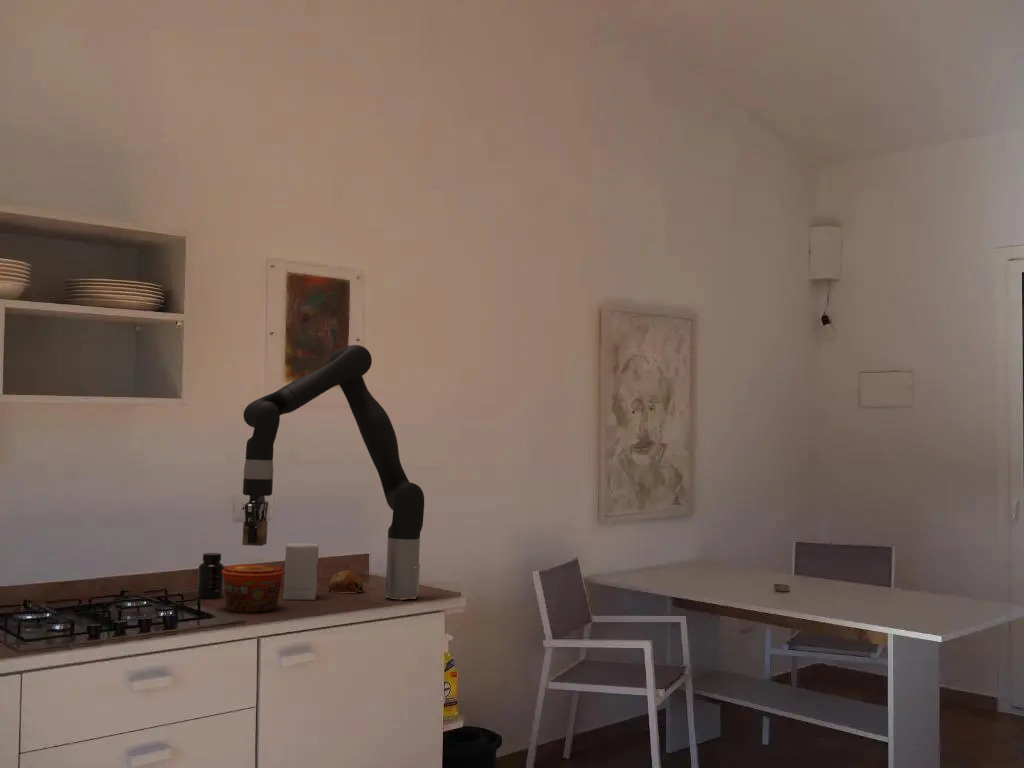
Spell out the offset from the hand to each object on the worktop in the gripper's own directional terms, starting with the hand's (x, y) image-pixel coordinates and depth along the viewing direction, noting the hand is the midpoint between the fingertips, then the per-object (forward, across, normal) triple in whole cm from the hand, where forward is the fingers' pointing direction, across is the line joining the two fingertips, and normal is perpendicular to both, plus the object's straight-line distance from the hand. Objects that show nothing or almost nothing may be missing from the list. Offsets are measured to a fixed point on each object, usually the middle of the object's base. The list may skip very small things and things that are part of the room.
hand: (254, 541), depth 260 cm
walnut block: (+1, 0, 0) cm, 1 cm away
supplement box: (+17, +21, -8) cm, 28 cm away
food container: (+18, 0, 0) cm, 18 cm away
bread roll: (+18, +36, -19) cm, 44 cm away
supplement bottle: (+18, +16, +16) cm, 29 cm away
